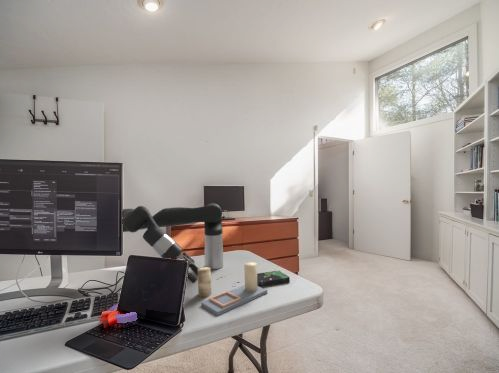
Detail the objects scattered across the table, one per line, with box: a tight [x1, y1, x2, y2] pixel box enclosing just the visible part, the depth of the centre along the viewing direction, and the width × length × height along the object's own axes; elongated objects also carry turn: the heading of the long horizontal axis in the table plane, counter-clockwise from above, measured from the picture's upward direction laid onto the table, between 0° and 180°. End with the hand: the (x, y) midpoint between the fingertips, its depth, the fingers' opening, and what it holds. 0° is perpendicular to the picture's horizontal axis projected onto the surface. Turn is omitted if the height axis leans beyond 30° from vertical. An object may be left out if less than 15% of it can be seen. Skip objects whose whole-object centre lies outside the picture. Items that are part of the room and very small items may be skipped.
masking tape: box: [107, 303, 138, 323], centre depth 84 cm, size 12×12×4 cm
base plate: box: [200, 262, 268, 316], centre depth 96 cm, size 10×24×11 cm, turn 133°
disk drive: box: [257, 270, 291, 288], centre depth 113 cm, size 10×3×15 cm
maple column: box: [197, 266, 212, 298], centre depth 101 cm, size 5×5×10 cm
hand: (197, 277), depth 100 cm, fingers open, 8 cm apart
